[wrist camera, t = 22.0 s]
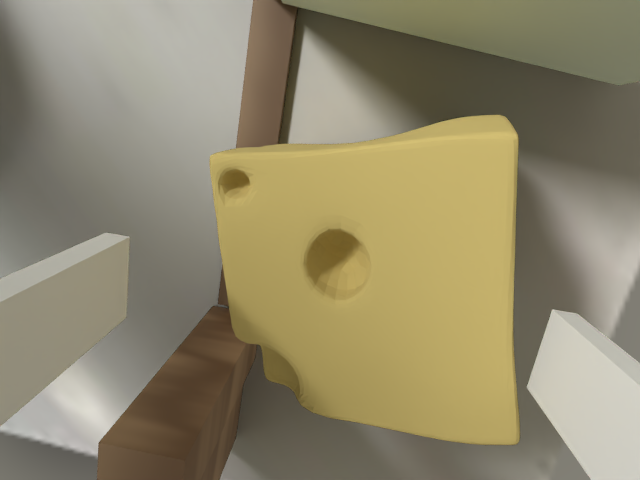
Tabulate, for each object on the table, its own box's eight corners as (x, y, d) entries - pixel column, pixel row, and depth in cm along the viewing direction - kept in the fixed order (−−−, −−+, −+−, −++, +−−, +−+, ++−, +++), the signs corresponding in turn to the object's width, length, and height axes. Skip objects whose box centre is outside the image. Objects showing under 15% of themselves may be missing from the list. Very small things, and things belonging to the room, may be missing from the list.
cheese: (308, 316, 26) (231, 422, 16) (292, 133, 23) (191, 135, 14) (493, 325, 23) (527, 459, 14) (498, 117, 20) (543, 105, 11)
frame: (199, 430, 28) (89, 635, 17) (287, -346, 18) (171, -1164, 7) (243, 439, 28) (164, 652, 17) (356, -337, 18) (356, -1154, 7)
